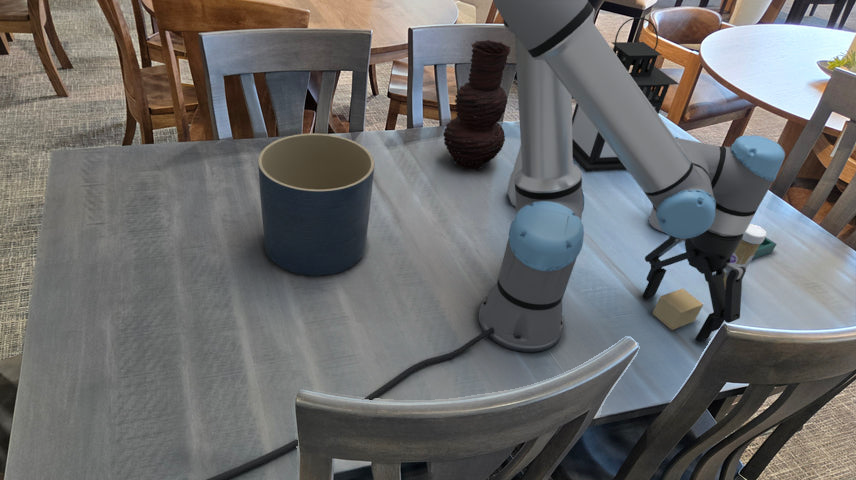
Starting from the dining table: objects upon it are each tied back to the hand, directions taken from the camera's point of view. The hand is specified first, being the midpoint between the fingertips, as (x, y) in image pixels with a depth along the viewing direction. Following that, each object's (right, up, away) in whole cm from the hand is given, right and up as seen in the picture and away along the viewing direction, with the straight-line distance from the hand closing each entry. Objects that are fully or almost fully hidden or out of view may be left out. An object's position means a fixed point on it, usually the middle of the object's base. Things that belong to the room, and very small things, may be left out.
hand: (673, 317), depth 121 cm
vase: (-32, +38, +43) cm, 65 cm away
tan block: (0, 0, 0) cm, 0 cm away
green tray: (+24, +15, +20) cm, 35 cm away
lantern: (+5, +41, +50) cm, 65 cm away
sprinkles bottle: (+15, +6, +10) cm, 19 cm away
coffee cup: (+10, +20, +25) cm, 34 cm away
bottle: (-21, +26, +30) cm, 45 cm away
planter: (-70, +14, +12) cm, 72 cm away
